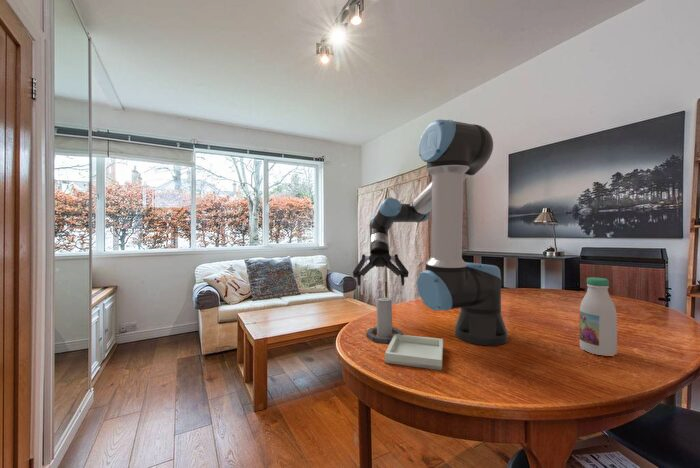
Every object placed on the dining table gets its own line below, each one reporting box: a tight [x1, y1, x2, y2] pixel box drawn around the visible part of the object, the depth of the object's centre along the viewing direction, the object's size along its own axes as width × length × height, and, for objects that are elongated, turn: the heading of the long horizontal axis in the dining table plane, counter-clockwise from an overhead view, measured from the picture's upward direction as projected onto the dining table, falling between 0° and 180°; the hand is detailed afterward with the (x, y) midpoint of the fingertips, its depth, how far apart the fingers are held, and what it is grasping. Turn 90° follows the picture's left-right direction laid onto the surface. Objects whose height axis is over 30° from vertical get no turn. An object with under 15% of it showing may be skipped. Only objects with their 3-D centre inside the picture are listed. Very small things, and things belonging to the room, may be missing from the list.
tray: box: [384, 333, 444, 371], centre depth 79 cm, size 14×14×2 cm
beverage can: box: [376, 296, 393, 337], centre depth 93 cm, size 5×5×12 cm
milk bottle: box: [579, 276, 618, 355], centre depth 79 cm, size 8×8×20 cm
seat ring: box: [365, 326, 404, 344], centre depth 93 cm, size 11×11×1 cm
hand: (381, 292), depth 101 cm, fingers open, 13 cm apart
